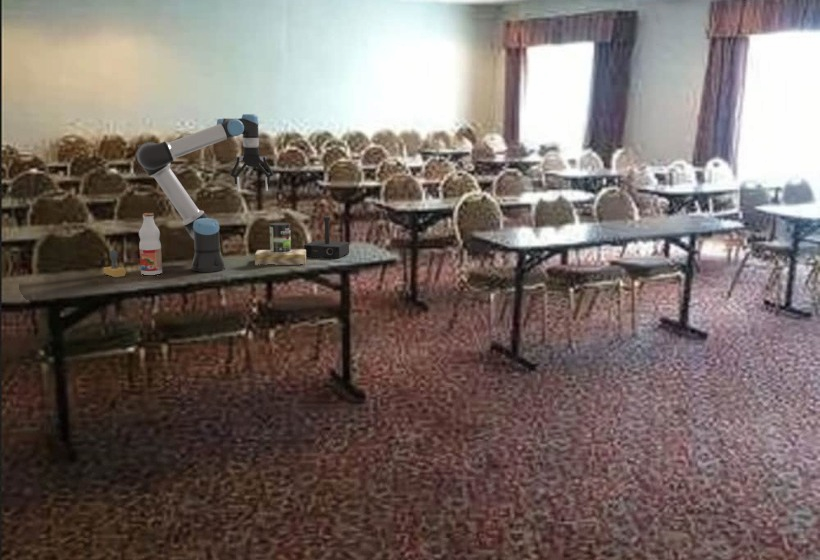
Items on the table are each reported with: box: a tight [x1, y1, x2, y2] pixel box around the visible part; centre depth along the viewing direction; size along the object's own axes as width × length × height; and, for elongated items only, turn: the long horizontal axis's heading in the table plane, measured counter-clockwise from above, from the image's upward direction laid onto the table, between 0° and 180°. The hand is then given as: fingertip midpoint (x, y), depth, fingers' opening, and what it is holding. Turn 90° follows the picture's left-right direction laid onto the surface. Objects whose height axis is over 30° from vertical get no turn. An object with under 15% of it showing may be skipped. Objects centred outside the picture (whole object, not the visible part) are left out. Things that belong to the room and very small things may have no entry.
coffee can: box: [268, 221, 292, 254], centre depth 427 cm, size 10×10×14 cm
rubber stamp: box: [103, 249, 127, 276], centre depth 395 cm, size 10×6×12 cm, turn 46°
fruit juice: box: [138, 212, 163, 275], centre depth 397 cm, size 9×9×28 cm
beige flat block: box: [254, 248, 307, 266], centre depth 429 cm, size 24×14×5 cm, turn 95°
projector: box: [303, 216, 350, 259], centre depth 446 cm, size 19×17×20 cm
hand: (252, 190), depth 425 cm, fingers open, 13 cm apart
